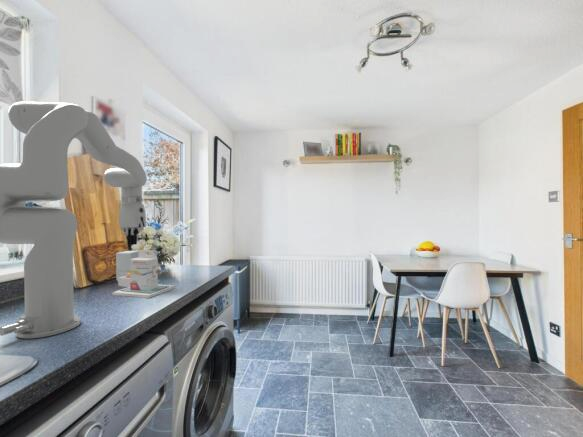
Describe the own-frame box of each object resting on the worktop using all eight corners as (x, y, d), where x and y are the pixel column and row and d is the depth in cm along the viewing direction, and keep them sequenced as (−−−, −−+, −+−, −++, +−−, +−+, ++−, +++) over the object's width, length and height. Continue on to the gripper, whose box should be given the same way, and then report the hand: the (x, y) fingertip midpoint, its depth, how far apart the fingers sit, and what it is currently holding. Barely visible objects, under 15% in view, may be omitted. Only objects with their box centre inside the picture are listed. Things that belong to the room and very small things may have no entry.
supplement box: (141, 277, 129) (141, 250, 129) (131, 281, 122) (130, 252, 122) (127, 277, 130) (126, 250, 130) (115, 280, 123) (115, 252, 123)
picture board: (148, 298, 97) (148, 295, 97) (112, 294, 101) (112, 291, 101) (174, 288, 110) (174, 285, 110) (142, 285, 115) (142, 282, 115)
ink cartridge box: (129, 290, 103) (129, 251, 103) (138, 286, 108) (138, 249, 108) (150, 290, 102) (149, 251, 102) (158, 287, 107) (158, 250, 107)
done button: (132, 280, 113) (132, 274, 113) (124, 279, 114) (124, 273, 114) (140, 277, 117) (140, 272, 117) (132, 277, 118) (132, 271, 118)
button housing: (132, 287, 111) (132, 278, 111) (118, 286, 113) (118, 277, 113) (146, 283, 118) (146, 275, 118) (132, 282, 120) (132, 274, 120)
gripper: (153, 201, 117) (153, 244, 117) (124, 201, 121) (125, 243, 121) (139, 200, 110) (139, 246, 110) (109, 200, 114) (110, 244, 114)
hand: (132, 244), depth 116 cm, fingers closed
